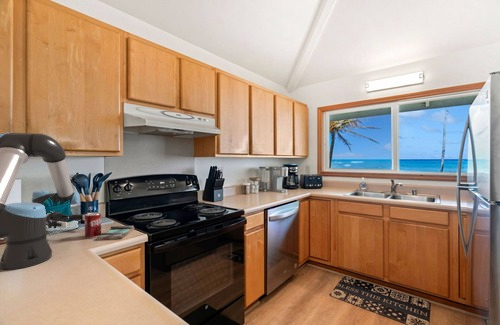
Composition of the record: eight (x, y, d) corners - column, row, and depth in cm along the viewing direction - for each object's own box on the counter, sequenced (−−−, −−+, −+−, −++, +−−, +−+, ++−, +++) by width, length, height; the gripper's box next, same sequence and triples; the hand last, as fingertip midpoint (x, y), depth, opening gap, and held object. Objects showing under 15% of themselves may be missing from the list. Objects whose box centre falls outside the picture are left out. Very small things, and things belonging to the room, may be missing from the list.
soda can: (104, 234, 126) (104, 212, 126) (94, 238, 119) (94, 215, 119) (92, 233, 127) (91, 212, 127) (81, 238, 120) (81, 215, 119)
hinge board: (96, 240, 117) (96, 235, 117) (112, 229, 134) (112, 225, 134) (121, 239, 118) (121, 234, 118) (134, 228, 136) (134, 224, 136)
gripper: (75, 219, 144) (100, 222, 138) (26, 231, 120) (54, 235, 114) (74, 207, 144) (100, 209, 138) (25, 217, 120) (54, 220, 114)
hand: (79, 221), depth 126 cm, fingers open, 13 cm apart
